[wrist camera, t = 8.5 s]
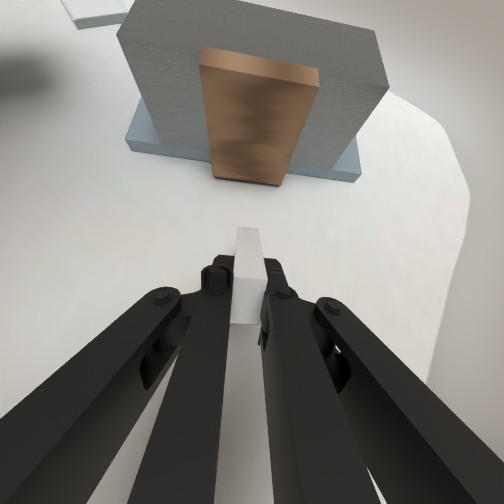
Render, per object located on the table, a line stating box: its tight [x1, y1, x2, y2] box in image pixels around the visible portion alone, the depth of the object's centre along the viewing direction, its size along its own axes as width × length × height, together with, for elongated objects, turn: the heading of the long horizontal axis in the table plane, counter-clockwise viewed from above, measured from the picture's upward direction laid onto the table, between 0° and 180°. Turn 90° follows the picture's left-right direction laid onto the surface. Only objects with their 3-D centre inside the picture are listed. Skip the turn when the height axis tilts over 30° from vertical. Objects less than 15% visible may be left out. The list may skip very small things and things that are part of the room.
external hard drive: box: [61, 0, 129, 30], centre depth 29 cm, size 2×8×12 cm
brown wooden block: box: [199, 46, 320, 185], centre depth 18 cm, size 8×12×10 cm
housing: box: [116, 0, 389, 182], centre depth 19 cm, size 28×9×10 cm, turn 86°
